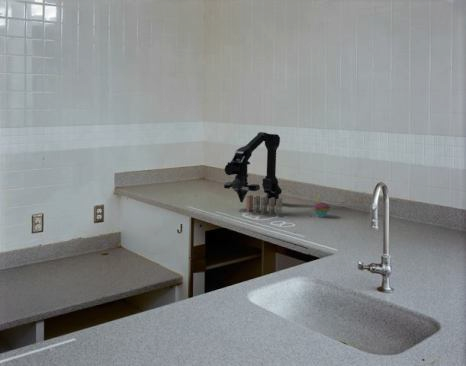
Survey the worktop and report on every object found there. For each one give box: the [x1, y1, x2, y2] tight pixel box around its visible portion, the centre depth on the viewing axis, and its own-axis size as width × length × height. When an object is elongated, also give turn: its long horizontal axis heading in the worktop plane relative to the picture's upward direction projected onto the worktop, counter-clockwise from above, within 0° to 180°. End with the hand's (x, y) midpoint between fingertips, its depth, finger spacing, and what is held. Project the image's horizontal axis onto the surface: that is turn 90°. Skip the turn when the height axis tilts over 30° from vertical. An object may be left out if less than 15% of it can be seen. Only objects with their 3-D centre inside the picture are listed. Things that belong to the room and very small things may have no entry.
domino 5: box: [275, 197, 284, 215], centre depth 286 cm, size 2×5×8 cm, turn 154°
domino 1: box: [245, 194, 254, 212], centre depth 294 cm, size 2×5×8 cm, turn 154°
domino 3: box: [260, 196, 269, 215], centre depth 290 cm, size 2×5×8 cm, turn 154°
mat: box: [239, 208, 290, 218], centre depth 291 cm, size 25×9×1 cm, turn 64°
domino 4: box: [267, 197, 276, 214], centre depth 288 cm, size 2×5×8 cm, turn 154°
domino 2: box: [252, 195, 261, 214], centre depth 292 cm, size 2×5×8 cm, turn 154°
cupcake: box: [312, 194, 331, 218], centre depth 284 cm, size 9×8×12 cm
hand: (241, 202), depth 296 cm, fingers closed
